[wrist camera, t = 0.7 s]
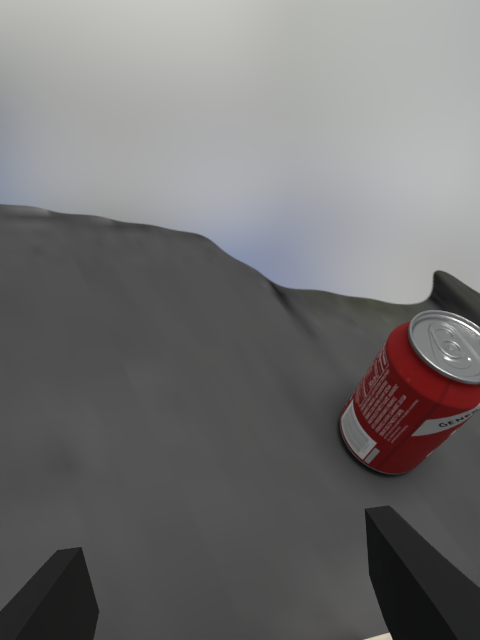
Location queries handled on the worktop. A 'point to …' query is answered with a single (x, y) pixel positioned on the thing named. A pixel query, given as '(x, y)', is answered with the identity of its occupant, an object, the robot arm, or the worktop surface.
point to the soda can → (414, 392)
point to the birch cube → (381, 637)
